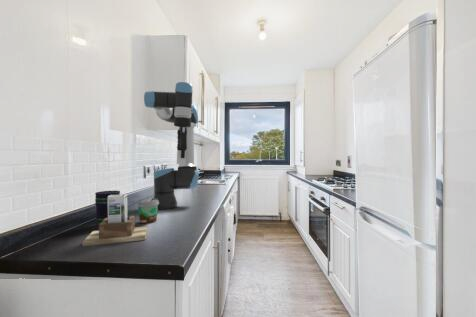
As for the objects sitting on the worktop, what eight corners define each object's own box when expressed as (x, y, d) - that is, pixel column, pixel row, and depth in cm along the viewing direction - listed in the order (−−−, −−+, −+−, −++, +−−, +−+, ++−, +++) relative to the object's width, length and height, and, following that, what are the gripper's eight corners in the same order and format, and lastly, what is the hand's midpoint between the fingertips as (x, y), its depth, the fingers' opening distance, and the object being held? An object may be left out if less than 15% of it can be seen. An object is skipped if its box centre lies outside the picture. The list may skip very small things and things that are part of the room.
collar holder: (93, 234, 95) (92, 218, 95) (147, 229, 101) (147, 214, 101) (82, 246, 82) (82, 227, 82) (145, 239, 88) (145, 222, 88)
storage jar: (92, 226, 107) (91, 192, 107) (115, 221, 115) (115, 189, 115) (100, 230, 101) (99, 194, 101) (124, 225, 108) (123, 191, 108)
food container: (150, 225, 107) (149, 202, 107) (137, 224, 109) (137, 202, 108) (164, 218, 119) (163, 198, 119) (152, 218, 121) (152, 197, 121)
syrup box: (107, 236, 88) (106, 196, 88) (112, 231, 94) (111, 194, 94) (124, 235, 90) (123, 195, 89) (128, 230, 95) (127, 193, 95)
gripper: (194, 115, 99) (192, 167, 99) (188, 121, 122) (186, 163, 123) (175, 113, 96) (173, 166, 97) (172, 120, 120) (170, 162, 121)
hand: (180, 164), depth 110 cm, fingers open, 13 cm apart
